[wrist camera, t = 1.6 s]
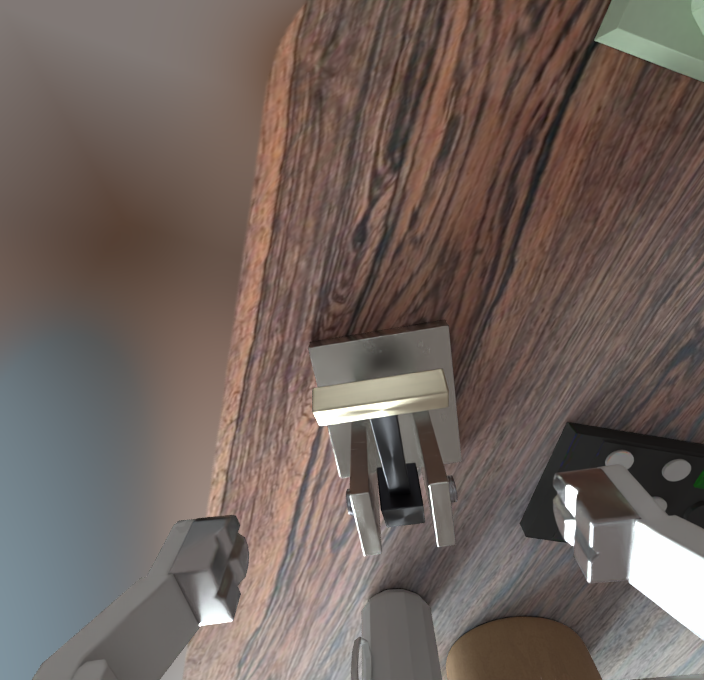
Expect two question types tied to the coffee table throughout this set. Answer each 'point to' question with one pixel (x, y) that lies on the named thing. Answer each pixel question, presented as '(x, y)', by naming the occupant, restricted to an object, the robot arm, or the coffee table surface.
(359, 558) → the coffee table surface
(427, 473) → the bracket
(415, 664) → the water bottle
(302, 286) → the coffee table surface
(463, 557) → the coffee table surface
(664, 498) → the remote control
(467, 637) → the vase
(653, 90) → the coffee table surface
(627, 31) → the button box
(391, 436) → the lever
